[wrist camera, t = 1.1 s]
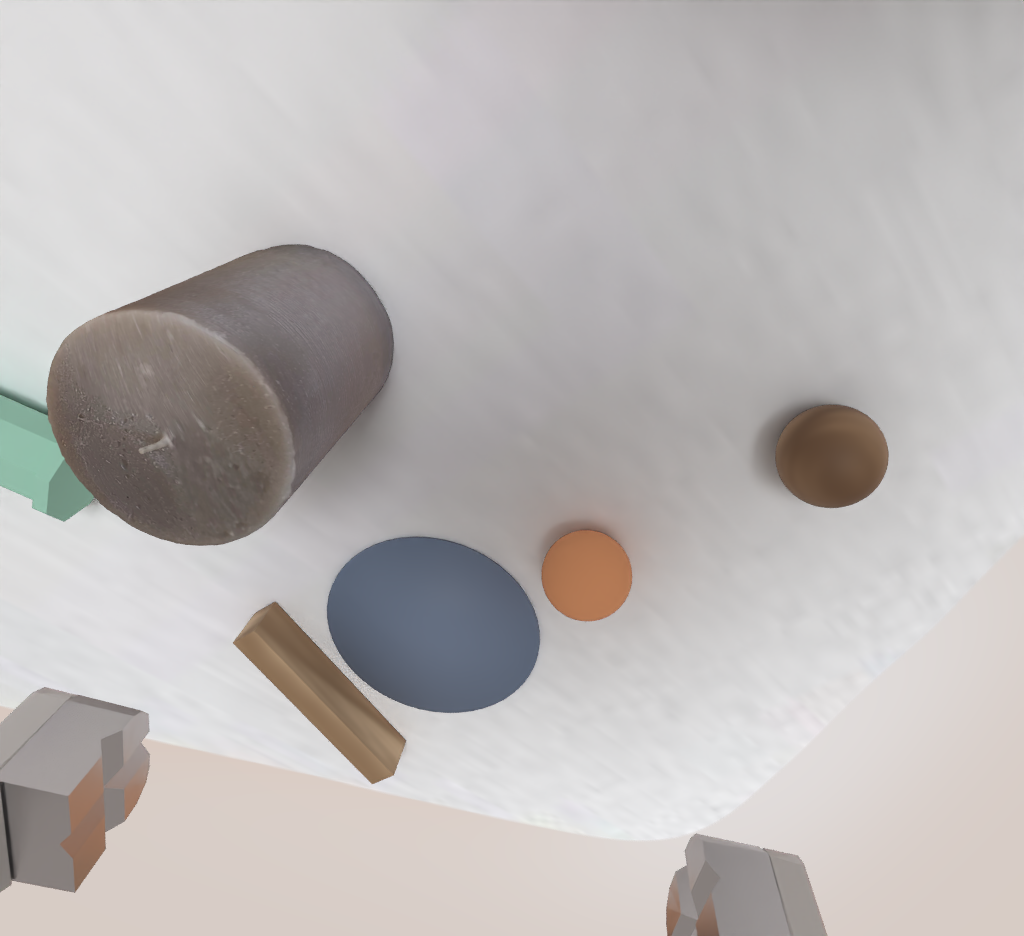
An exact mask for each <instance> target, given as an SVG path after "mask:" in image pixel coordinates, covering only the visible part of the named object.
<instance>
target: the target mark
mask: <svg viewBox="0 0 1024 936" xmlns="http://www.w3.org/2000/svg"><path fill="white" fill-rule="evenodd" d="M327 619H328V625H329V630H330V633H331V636H332V639H333V641H334V643H335V645H336V648H337V650H338V651H339V653H340V655H341V656H342V658H343V659H344V661H345V662H346V663H347V664H348V666H349V667H350V668H351V669H352V670H353V671H354V672H355V673H356V674H357V675H358V676H359V677H360V678H361V679H362V680H363V681H364V682H366V683H367V684H368V685H370V686H371V687H372V688H374V689H375V690H377V691H378V692H380V693H382V694H383V695H385V696H387V697H389V698H391V699H393V700H395V701H397V702H400V703H402V704H405V705H408V706H411V707H415V708H418V709H422V710H428V711H433V712H444V713H459V712H468V711H474V710H478V709H482V708H485V707H488V706H491V705H494V704H496V703H498V702H500V701H502V700H504V699H505V698H507V697H508V696H510V695H511V694H513V693H514V692H515V691H516V690H517V689H518V688H519V687H520V686H521V685H522V684H523V683H524V682H525V680H526V679H527V678H528V677H529V675H530V673H531V671H532V669H533V667H534V665H535V662H536V659H537V656H538V650H539V643H540V638H539V626H538V621H537V617H536V614H535V612H534V609H533V606H532V604H531V603H530V601H529V599H528V597H527V595H526V594H525V592H524V591H523V589H522V588H521V587H520V585H519V584H518V583H517V582H516V581H515V580H514V579H513V577H512V576H511V575H510V574H509V573H507V572H506V571H505V570H504V569H503V568H502V567H501V566H499V565H498V564H497V563H495V562H494V561H492V560H491V559H489V558H488V557H486V556H484V555H482V554H480V553H479V552H477V551H475V550H473V549H470V548H468V547H465V546H463V545H460V544H457V543H453V542H450V541H446V540H441V539H435V538H426V537H407V538H398V539H393V540H388V541H385V542H382V543H378V544H375V545H373V546H371V547H369V548H367V549H365V550H363V551H362V552H360V553H359V554H357V555H356V556H354V557H353V558H352V559H351V560H350V561H349V562H348V563H347V564H346V565H345V566H344V567H343V569H342V570H341V571H340V573H339V574H338V575H337V577H336V579H335V581H334V583H333V585H332V587H331V591H330V594H329V598H328V605H327Z"/></svg>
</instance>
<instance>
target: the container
mask: <svg viewBox="0 0 1024 936" xmlns="http://www.w3.org/2000/svg"><path fill="white" fill-rule="evenodd" d="M0 486H2V487H4V488H7V489H9V490H11V491H13V492H16V493H18V494H20V495H23V496H25V497H27V498H30V499H32V500H33V503H32V508H33V509H35V510H38V511H40V512H42V513H45V514H47V515H49V516H52V517H54V518H56V519H59V520H61V521H66V520H67V519H69V518H70V517H72V516H73V515H74V514H76V513H77V512H79V511H80V510H82V509H83V508H84V507H86V506H87V505H89V504H90V503H91V501H92V500H93V498H94V496H93V495H92V493H91V492H89V491H88V490H87V489H86V488H85V486H84V485H83V484H82V483H81V482H80V481H79V480H78V478H77V477H76V476H75V474H74V473H73V471H72V470H71V468H70V466H69V465H68V464H67V463H66V461H65V458H64V457H63V456H62V454H61V452H60V449H59V446H58V443H57V441H56V438H55V437H54V434H53V431H52V427H51V424H50V423H49V420H48V416H47V415H45V414H43V413H40V412H38V411H36V410H34V409H31V408H29V407H27V406H25V405H22V404H20V403H18V402H15V401H13V400H11V399H9V398H6V397H4V396H2V395H0Z"/></svg>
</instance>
